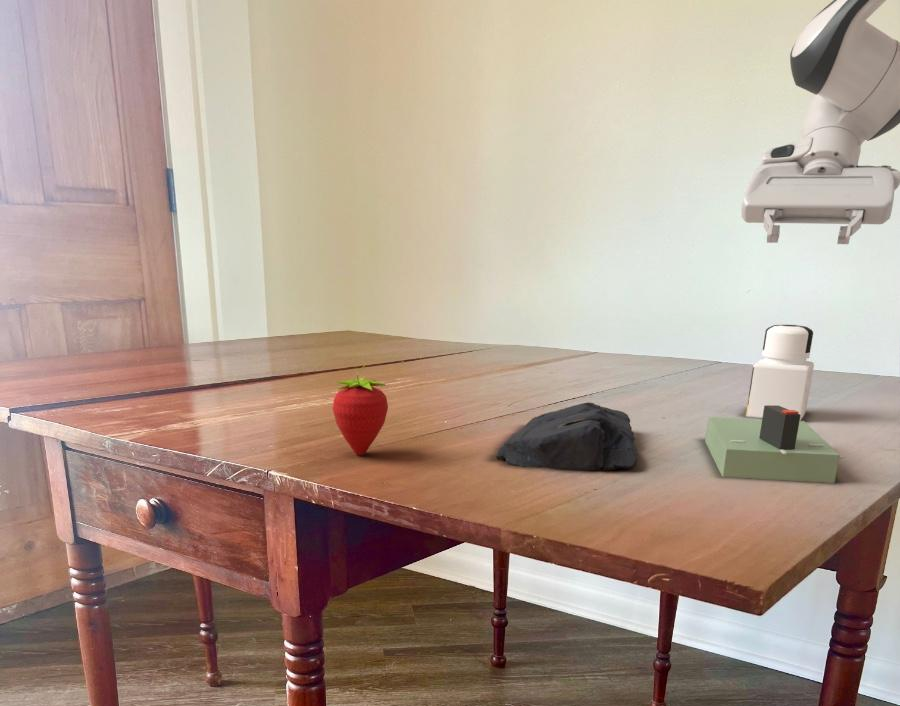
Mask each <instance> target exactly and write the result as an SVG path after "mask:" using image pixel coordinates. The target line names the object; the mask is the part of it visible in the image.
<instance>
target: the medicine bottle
mask: <svg viewBox="0 0 900 706" xmlns="http://www.w3.org/2000/svg"><path fill="white" fill-rule="evenodd" d="M813 337H814V331H813V330H812V328H810V327H808V326H804V325H798V324H773V325H771V326H768V327H767V328H766V330H765V333H764V339H763V345H762V350H761V351H762V352H761V356H762V357H763V358H761V359H759V360H758V361H757V362H756V363H754V364H753V366H752V371H751V372H752V373H751V378H750V384H749V391H748V398H747V404H746V411H745V417H747V418H752V419H762V418H763V411H764V406H773V405H779V406H781V407H783V408H786V409H788V410H795V411H798V412H799V413H798V414H800V421H802V419H803V418H804V416H805V415H806V412H807V407H808V401H809V396H810V391H811V384H812V378H813V373H814V367H815V363H814V362H813V361H808V359H809V358H810V356H811V355H810V354H811V350H812V342H813Z"/></svg>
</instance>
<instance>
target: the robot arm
mask: <svg viewBox="0 0 900 706" xmlns="http://www.w3.org/2000/svg"><path fill="white" fill-rule="evenodd" d="M886 2H887V0H832V1H831V2H829V4H827V5H826V6H825V7H824V8H823V9H821V10H820V11H819V12H818V13H817V14H816V15H815V16H814V17H813V18H812V19H811V20H810V21H809V22H808V24H806V26H805V27H804V28H803V29H802V31H801V32H800V34H798V37H797V39H796V40H795V42H794V44H793V46H792V48H791V50H790V54H789V62H790V71H791V75H792V78H793V79H792V80H793V82H794V85H795V86H796V87H798V88H800V89H803V90H805V91H807V92H809V93H811V94H813V96H812V98H811V100H810V103H809V105H808V108H807V110H806V114H805V117H804V120H803V124H802V128H801V139H798V140H796V141H793V142H790V143H787V144H783V145H779V146H775V147H771V148H768V149H766V150H765V151H763V153H762V157H761V162H760V166H759V167H757V168H756V169H755V170H754V171H753V172H752V174H751V176H750V178H749V181H748V182H747V185H746V187H745V191H744V193H743V196H742V199H741V218H742V219H743V221H744V222H745V223H747V224H763V228H764V230H765V231H766V234H767V235H766V243H767V244H769V243H770V244H777V243H778V242H779V238H780V234H781V231H780V230H781V225H779V224H812V225H813V224H815V225H817V224H823V225H824V224H826V225H841V226H840V227H839V232H838V236H837V245H849V243H850V239H851V237H852V236H854V234H855V233H857V232H858V231H859V230H860V229H861V227H862V225H883V224H885V223H887V222H888V221H889V220H890V219H891V215H892V211H893V207H894V206H893V205H894V199H895V191H896V190H897V188H899V186H900V170H898V169H895V168H892V166H891V165H878V166H875V165H859V161H860V156H861V149H862V145H863V143H864V142H865V141H866V142H870V141H873V140H874V139H877V138H879V137H881V136H882V135H884V134H886V133H888V132H890V131H892V130H893V129H895V128H896V127H897V126H898V125H899V124H900V41H899V40H898V39H894V38H892V37H891V36H889V34H887V33H885V32H883V31H882V30H880V29H879V28H877V27H876V26H874V25H873V24H871V23H870V22H868V21H867V20H868V18H870V17H871V16H872V15H873V14H874V13H875V12H876V11H877V10H878V9H879V8H880V7H881V6H882V5H883V4H884V3H886ZM842 225H843V226H842Z"/></svg>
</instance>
